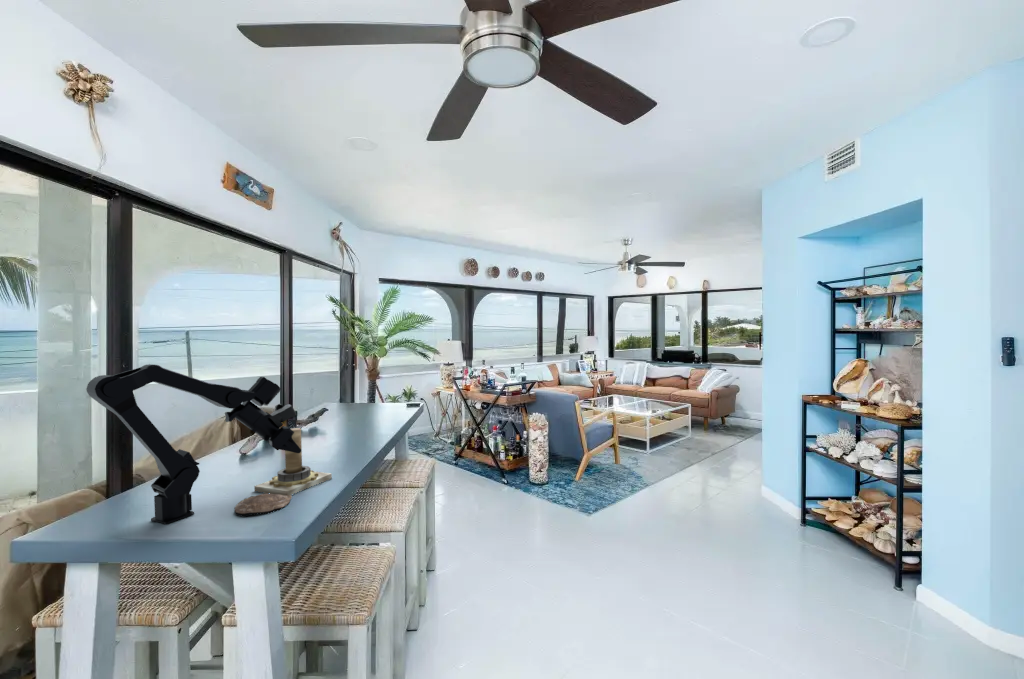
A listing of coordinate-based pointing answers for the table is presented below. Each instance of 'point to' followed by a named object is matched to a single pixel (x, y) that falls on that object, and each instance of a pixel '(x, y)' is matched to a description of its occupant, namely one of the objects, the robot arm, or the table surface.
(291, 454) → the oak axle
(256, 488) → the gear board
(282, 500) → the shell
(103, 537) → the table surface
